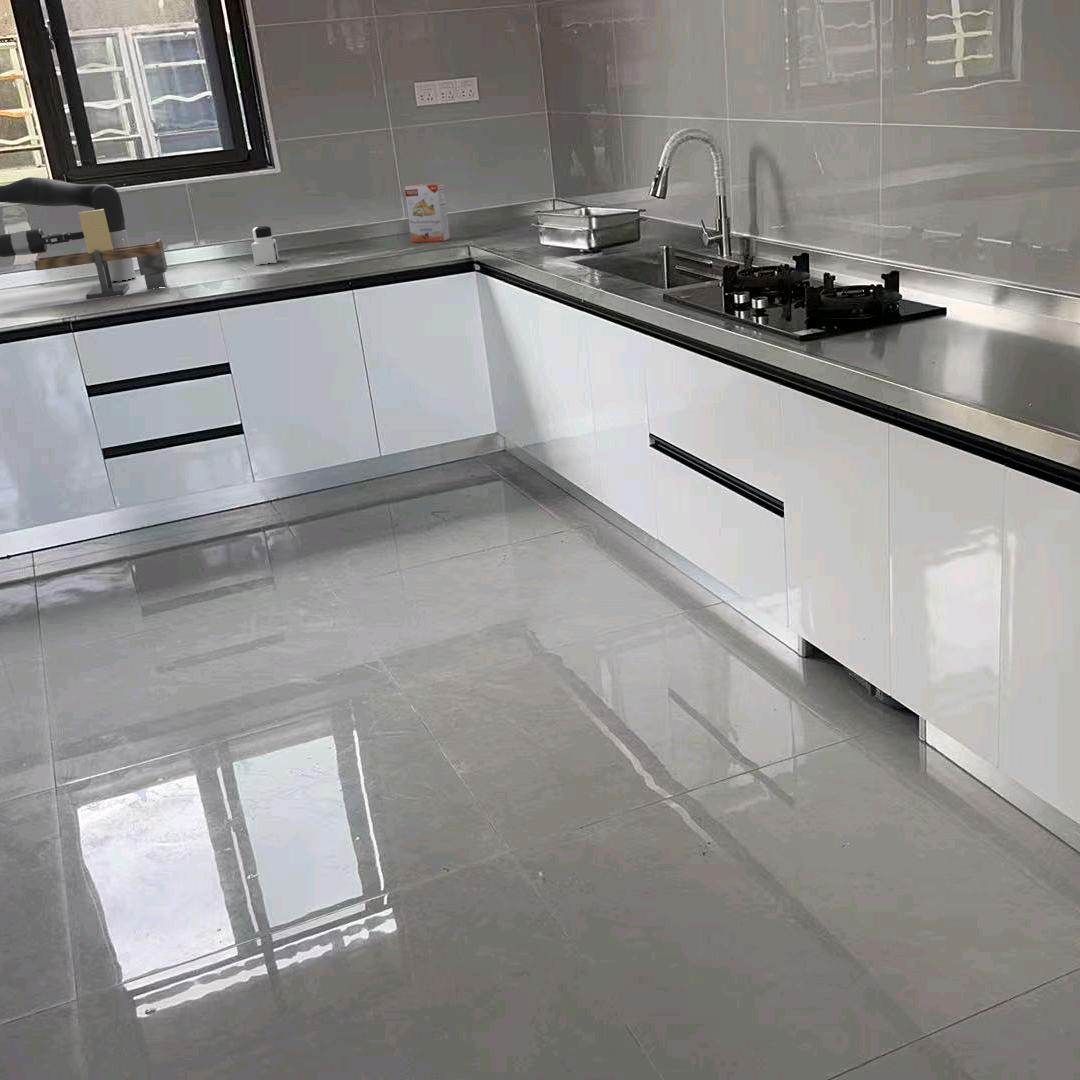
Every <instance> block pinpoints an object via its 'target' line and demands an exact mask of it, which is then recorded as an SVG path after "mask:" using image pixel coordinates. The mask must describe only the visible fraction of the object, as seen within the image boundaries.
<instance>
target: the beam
mask: <svg viewBox="0 0 1080 1080" xmlns="http://www.w3.org/2000/svg"><path fill="white" fill-rule="evenodd" d="M100 253H101V258H102V263H103V266H104V265H105V264H106V263H107V262H108V261H112V260H120V259H127V258H132V259H134V258H135V259H137V260H136V261H137V265H138V268H139V273H140V276H145V275H148V274H155V273H162V272H165V273H166V272H167V270H168V269H169V268H168V263H167V259H166V256H165V250H164V246H163V241H162V238H158V239H156V241H155V242H151V243H143V244H136V245H135V244H133V245H129V246H126V247H119V248H113V251H106V252H100ZM34 264H35V270H36V271H37V272H38V271H44V270H51V269H59V268H67V267H74V266H75V267H76V266H81V265H82V266H83V265H89V264H94V265H95V266H96V263H95V258H94V254H93V253H91V254H88V251H83V252H77V253H76V252H75V253H68V254H59V255H53V256H46V257H39V258H38V260H34Z"/></svg>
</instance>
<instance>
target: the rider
mask: <svg viewBox="0 0 1080 1080" xmlns="http://www.w3.org/2000/svg"><path fill="white" fill-rule="evenodd" d="M78 217H79V221H80V225H81V228H82V232H83V234H84V238H83V239H84V241H85V245H86V249H87V252H88V254H91V253H93V252H98V251H100V252H106V251H113V246H112V241H111V237H110V233H109V229H108V224H107V220H106V216H105V212H104V209H99V210H95V209H93V210H85V211H80V212H79V211H78Z"/></svg>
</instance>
